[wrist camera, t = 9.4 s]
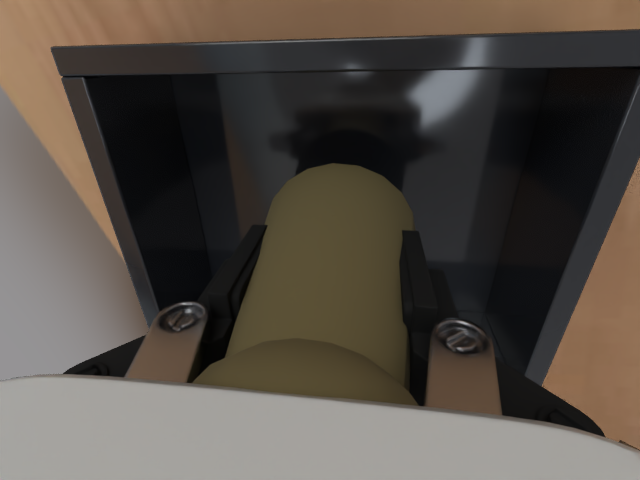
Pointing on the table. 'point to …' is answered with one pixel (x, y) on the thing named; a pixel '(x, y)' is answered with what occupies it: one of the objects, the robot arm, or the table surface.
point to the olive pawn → (325, 293)
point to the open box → (373, 155)
